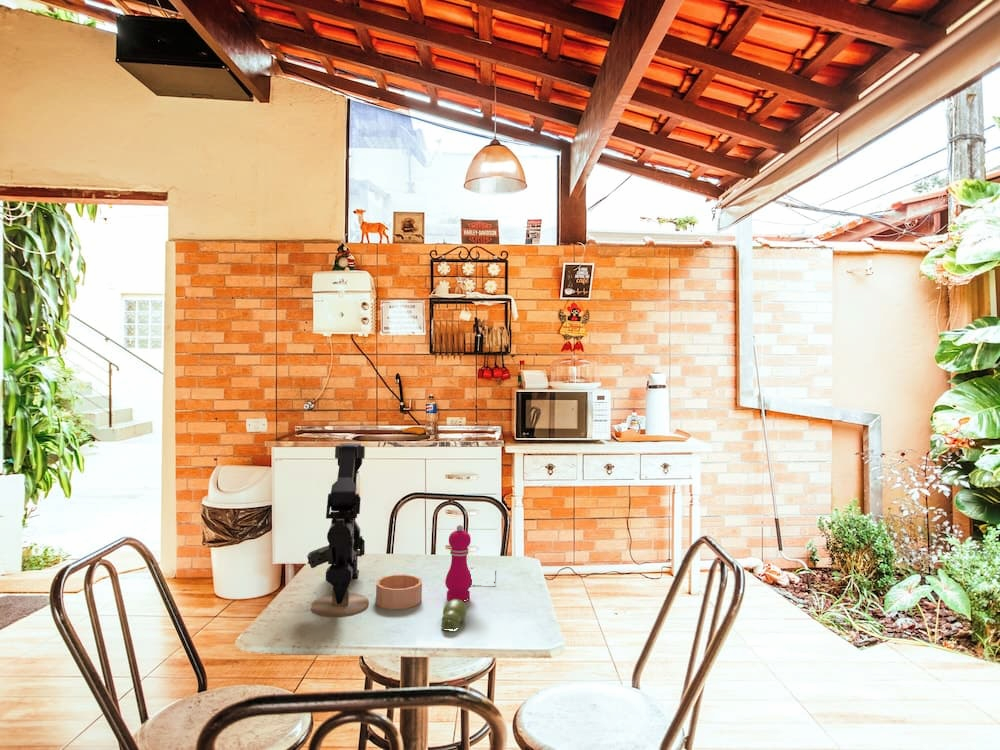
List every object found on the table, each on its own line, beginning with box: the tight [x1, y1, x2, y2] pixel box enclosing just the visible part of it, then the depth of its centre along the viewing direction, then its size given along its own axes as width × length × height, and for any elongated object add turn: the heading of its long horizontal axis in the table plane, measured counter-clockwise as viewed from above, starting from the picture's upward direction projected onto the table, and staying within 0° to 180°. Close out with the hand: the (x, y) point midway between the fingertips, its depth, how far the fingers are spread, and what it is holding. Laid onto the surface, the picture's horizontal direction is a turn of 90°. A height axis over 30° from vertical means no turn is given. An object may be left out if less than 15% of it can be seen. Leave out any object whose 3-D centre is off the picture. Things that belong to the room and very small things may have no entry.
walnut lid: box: [311, 585, 370, 618], centre depth 157 cm, size 14×14×5 cm
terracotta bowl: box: [375, 573, 423, 610], centre depth 162 cm, size 12×12×5 cm
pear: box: [440, 599, 468, 630], centre depth 147 cm, size 6×5×10 cm
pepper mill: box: [444, 524, 472, 602], centre depth 164 cm, size 7×7×20 cm
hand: (340, 597), depth 157 cm, fingers open, 9 cm apart
